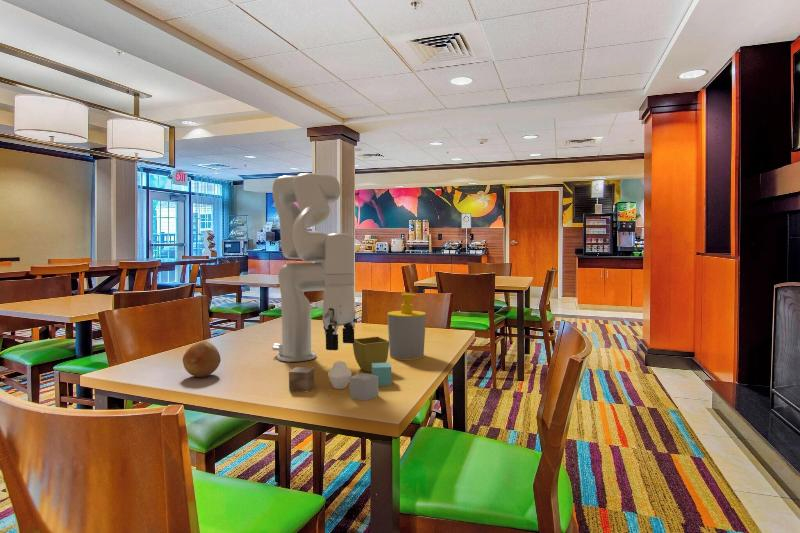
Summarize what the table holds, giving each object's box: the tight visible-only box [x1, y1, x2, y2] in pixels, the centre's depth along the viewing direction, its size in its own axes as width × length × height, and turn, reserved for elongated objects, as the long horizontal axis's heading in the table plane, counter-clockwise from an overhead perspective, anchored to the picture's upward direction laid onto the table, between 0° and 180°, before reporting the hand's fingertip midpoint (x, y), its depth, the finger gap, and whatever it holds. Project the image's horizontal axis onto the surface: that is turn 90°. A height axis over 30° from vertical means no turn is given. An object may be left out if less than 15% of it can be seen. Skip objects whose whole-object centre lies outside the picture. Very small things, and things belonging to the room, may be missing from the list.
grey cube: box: [349, 372, 379, 402], centre depth 114 cm, size 5×5×5 cm
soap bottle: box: [386, 292, 427, 361], centre depth 156 cm, size 13×13×21 cm
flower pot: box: [352, 336, 390, 373], centre depth 139 cm, size 9×9×9 cm
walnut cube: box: [288, 366, 315, 392], centre depth 121 cm, size 5×5×5 cm
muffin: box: [327, 360, 352, 390], centre depth 122 cm, size 6×6×7 cm
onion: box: [182, 340, 222, 379], centre depth 132 cm, size 10×10×10 cm
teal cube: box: [371, 362, 392, 387], centre depth 126 cm, size 5×5×5 cm
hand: (340, 346), depth 121 cm, fingers open, 9 cm apart
